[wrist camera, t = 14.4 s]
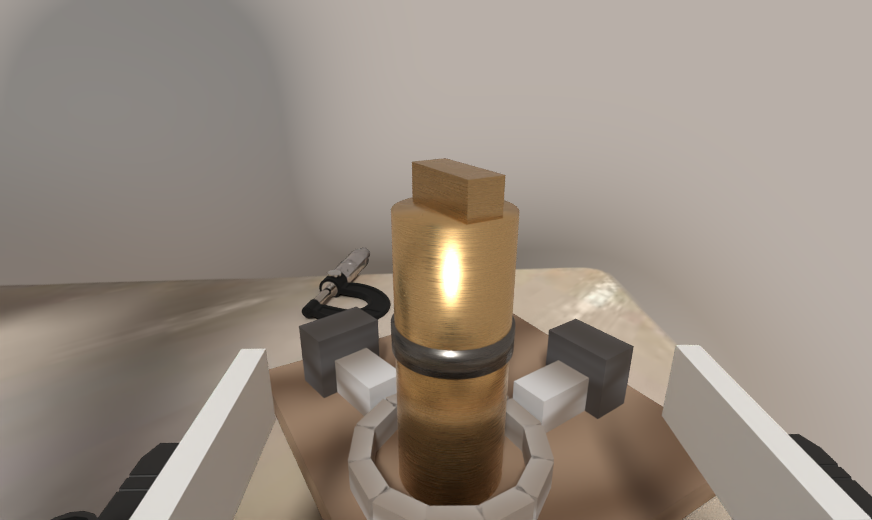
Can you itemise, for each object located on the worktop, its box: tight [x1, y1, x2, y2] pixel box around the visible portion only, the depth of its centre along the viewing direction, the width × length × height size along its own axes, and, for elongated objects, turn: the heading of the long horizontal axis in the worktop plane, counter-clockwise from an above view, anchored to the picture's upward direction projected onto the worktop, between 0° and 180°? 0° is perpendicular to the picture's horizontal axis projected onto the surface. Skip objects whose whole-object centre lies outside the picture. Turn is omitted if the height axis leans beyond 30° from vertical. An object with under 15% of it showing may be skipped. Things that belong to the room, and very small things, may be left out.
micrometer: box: [302, 248, 390, 320], centre depth 47 cm, size 15×7×2 cm, turn 169°
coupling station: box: [269, 307, 716, 520], centre depth 28 cm, size 20×19×5 cm
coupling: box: [391, 158, 519, 506], centre depth 22 cm, size 5×5×15 cm
